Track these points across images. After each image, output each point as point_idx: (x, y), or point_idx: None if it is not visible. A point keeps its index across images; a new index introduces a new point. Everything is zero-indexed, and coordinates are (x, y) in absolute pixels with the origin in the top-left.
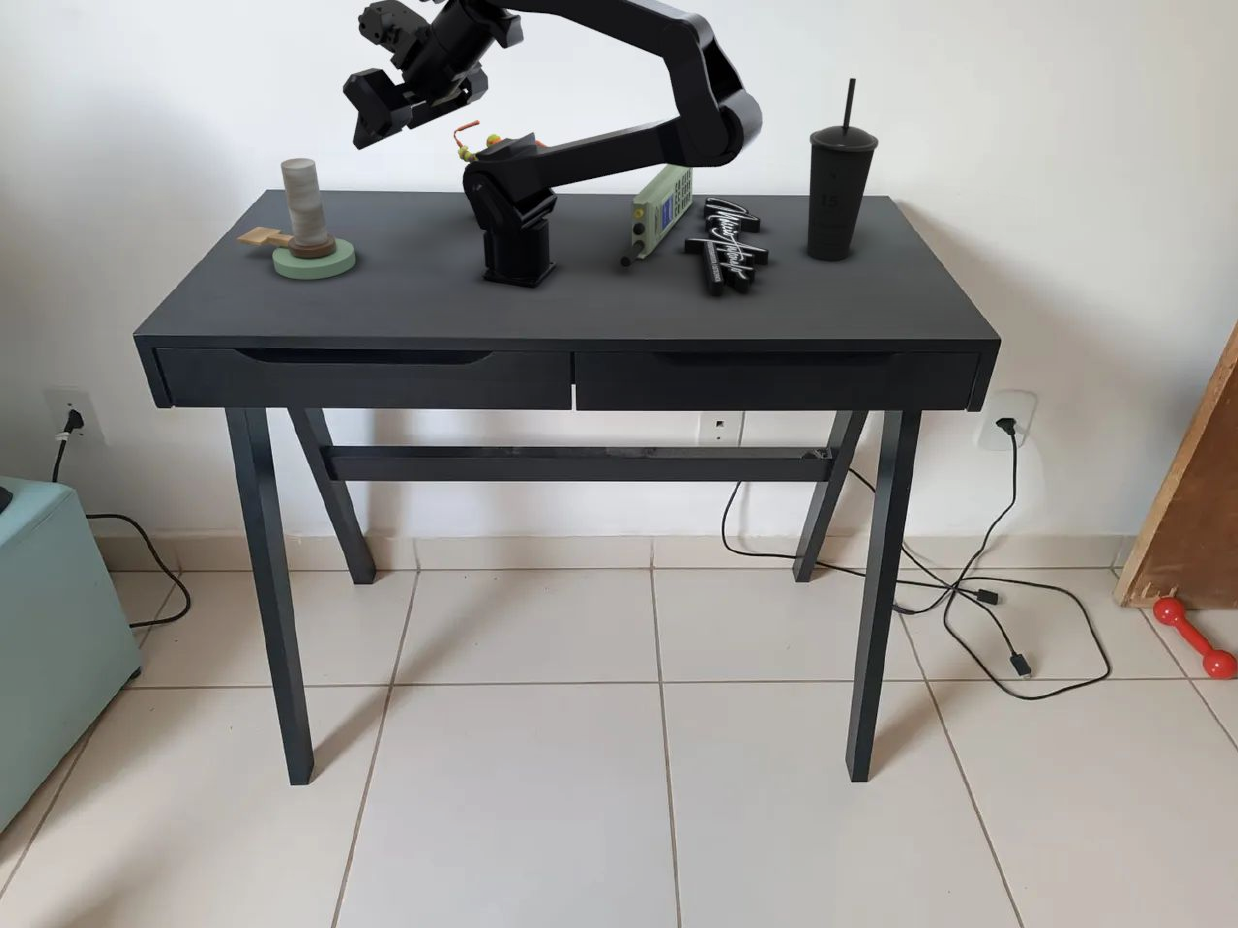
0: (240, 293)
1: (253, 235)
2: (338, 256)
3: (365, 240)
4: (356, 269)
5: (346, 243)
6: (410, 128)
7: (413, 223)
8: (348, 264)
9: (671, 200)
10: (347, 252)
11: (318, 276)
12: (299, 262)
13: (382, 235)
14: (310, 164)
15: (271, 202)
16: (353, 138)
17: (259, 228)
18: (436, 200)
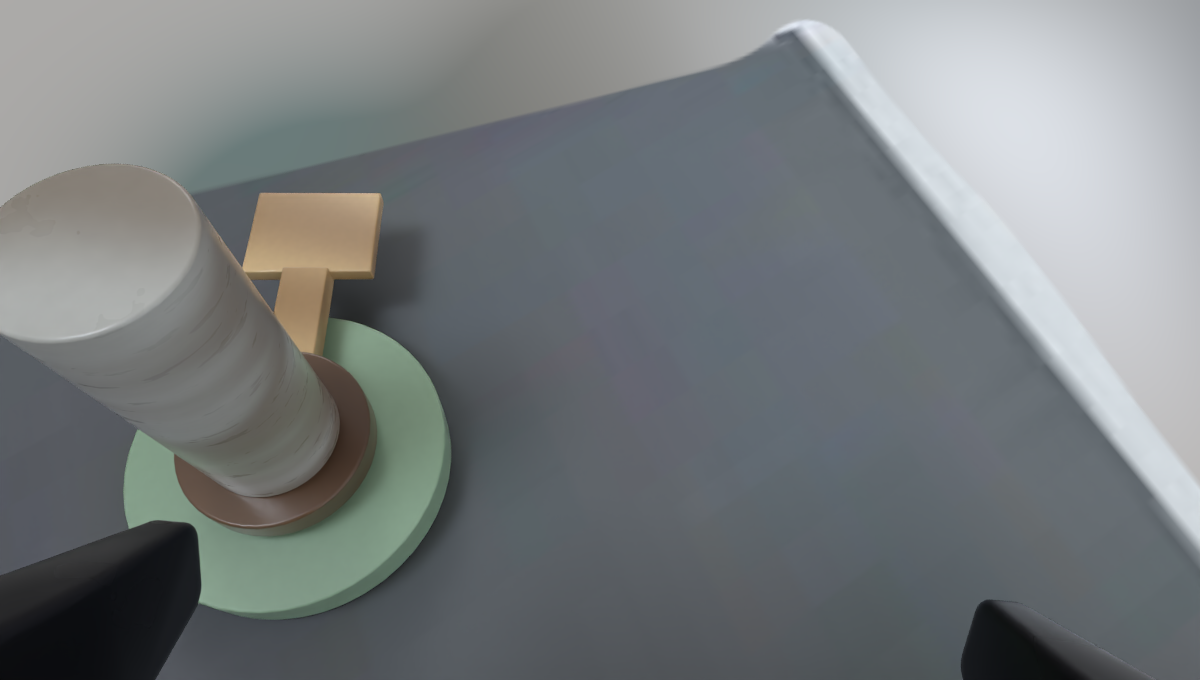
0: (8, 384)
1: (296, 222)
2: (261, 571)
3: (577, 501)
4: (293, 644)
5: (404, 518)
6: (967, 677)
7: (818, 578)
8: (270, 617)
9: None
10: (312, 580)
11: None
12: (169, 464)
13: (649, 534)
14: (56, 327)
15: (723, 81)
16: (103, 540)
17: (363, 204)
18: (1074, 523)
